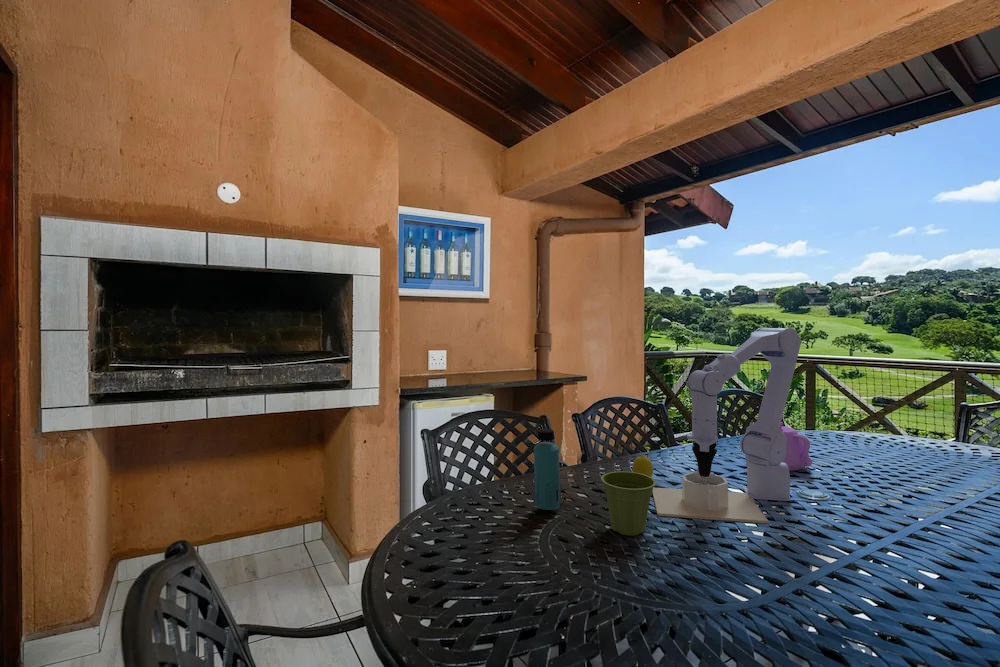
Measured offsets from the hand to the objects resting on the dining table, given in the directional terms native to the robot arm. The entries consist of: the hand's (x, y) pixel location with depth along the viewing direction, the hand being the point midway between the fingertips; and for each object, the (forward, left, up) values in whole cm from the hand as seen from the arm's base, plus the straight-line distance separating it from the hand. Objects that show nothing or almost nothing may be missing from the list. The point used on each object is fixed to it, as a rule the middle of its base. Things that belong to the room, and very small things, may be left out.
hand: (704, 473), depth 122 cm
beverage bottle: (+38, +11, -8) cm, 40 cm away
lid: (0, 0, -4) cm, 4 cm away
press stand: (0, 0, -8) cm, 8 cm away
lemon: (+14, -14, -8) cm, 21 cm away
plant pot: (+19, +18, -8) cm, 27 cm away
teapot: (-26, -37, -8) cm, 46 cm away
